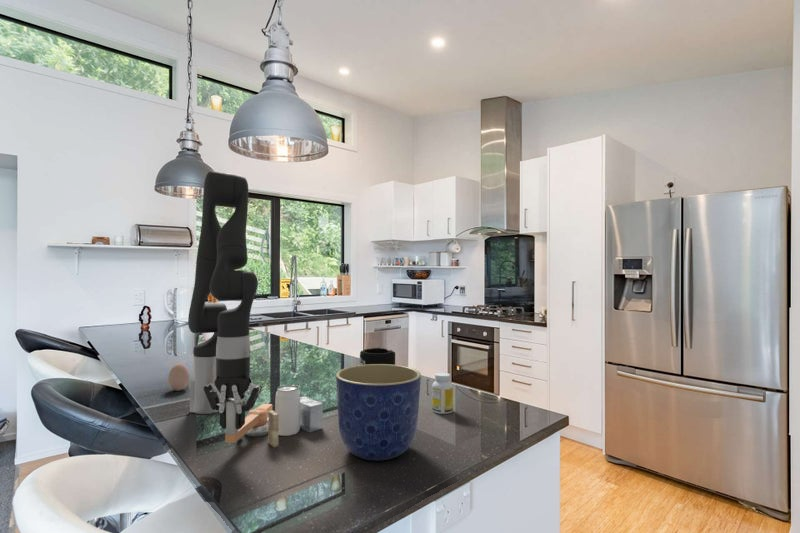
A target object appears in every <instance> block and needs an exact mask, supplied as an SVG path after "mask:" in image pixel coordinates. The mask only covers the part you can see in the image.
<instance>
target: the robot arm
mask: <svg viewBox="0 0 800 533" xmlns="http://www.w3.org/2000/svg"><path fill="white" fill-rule="evenodd" d="M205 175H206V176H205V178H204V183H203V194H202V195H203V196H202V216H201V225H200V226H201V227H200V228H201V229H200V233H199V234H200V235H199V240H198V246H197V254H196V262H195V263H196V264H195V273H194V283H193V284H194V285H193V291H192V297H191V302H190V307H189V311H188V317H187V318H188V320H187V322H188V323H187V324H188V329H189V331H190V332H191V333H193V334H209V333H213V334H212V335H211V337H210V338H208V339H207V340H205V341H203V342H201V343H198V344H196V345H195V346H194V347H193V357H192V358H193V359H192V360H193V366H192V368H193V371H192V372H193V373H192V374H193V375H192V380H191V379H190V380H189V413H193V414H199V415H207V414H208V415H209V414H215V413H219V425H220V427H221V430H224V429H225V430H226V401H227V400H229V399H234V403H235V404H236V409H237V414H236V429H240V428H242V426H243V425H244V424H245V418H246V412H249V411H250V410H252V409H253V408H254V406H255V404H256V402H257V400H258V398H259V395H260V393H261V391H262V389H263V386H262V385H260V384H259V385H257V384H255V383H253V382H252V379H251V377H250V374H251V372H250V371H251V353H252V351H251V340H250V320H251V319H250V317H251V312H252V306H253V303H254V300H255V296H256V293H257V292H258V288H259V280H258V276H257V275H256V273H255V272H254V271H252V270H249V269H248V270H247V269H245V270H243V269H242V268H243V267H245V266H246V265H247V264H248V249H247V248H248V247H247V245H248V244H247V234H246V233H247V224H248V223H247V222H248V212H249V210H248V209H249V208H248V206H249V183H248V180H247V178H246V177H245V176H243V175H240V174H235V173H229V172H222V171H215V170H210V171H208V172H207V173H206V174H205ZM216 207H224V208H226V207H227V208H233V209H234V212H233V214H232V215H231V216H230V218H228V220H227V221H226V222H225V223H224V224H223V225H222V226H221V224H220V221H219V219H218V217H217V213H216ZM240 269H242V270H240ZM209 295H211V296H212V297H213V298H214V299H215V300H219V301H238V300H241V301H240V304H239V305H238V306H236V307H234V308H231V309H227V305H226V304H225V303H223V302H206V301H207V299H208V298H209ZM248 389H249V394H250V395H249V396H248V399H247V397H246V396H247V395H246V392H247V391H248ZM246 400H247V402H246Z"/></svg>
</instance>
